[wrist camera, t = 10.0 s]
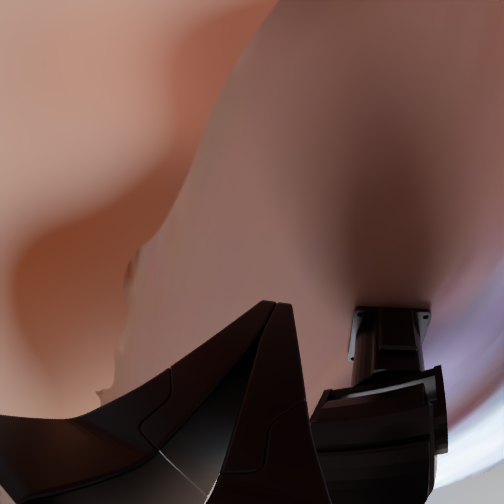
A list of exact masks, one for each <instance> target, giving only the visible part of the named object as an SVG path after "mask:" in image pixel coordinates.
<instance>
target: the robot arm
mask: <svg viewBox="0 0 504 504" xmlns="http://www.w3.org/2000/svg"><path fill="white" fill-rule="evenodd" d="M359 312H362V313H359ZM424 315H426V316H424ZM430 320H431V312H430V310H429V309H412V308H385V307H365V306H359V307H356V308H355V310H354V317H353V325H352V333H351V340H350V347H349V353H348V361H350V362H353V372H352V381H351V387H349V388H343V389H336V390H332V389H328V390H324V392H323V394H322V396H321V398H320V400H319V402H318V404H317V406H316V408H315V410H314V412H313V414H312V416H311V418H310V420H309V415H308V407H307V402H306V393H305V386H304V379H303V372H302V366H301V359H300V352H299V346H298V339H297V333H296V326H295V320H294V314H293V308H292V305H291V304H288V303H281V302H279V303H276V302H273V301H266V300H262V301H260V302H259V303H258V304H256V305H255V306H254V307H252V308H251V309H250V310H248V311H247V312H246V313H244V314H243V315H242V316H240V317H239V318H238V319H236V320H235V321H234V322H232V323H231V324H229V325H228V326H227V327H225V328H224V329H223V330H221V331H220V332H219V333H217V334H216V335H214V336H213V337H212V338H210V339H209V340H207V341H206V342H205V343H203V344H202V345H201V346H199V347H198V348H196V349H195V350H193V351H192V352H191V353H189V354H188V355H186V356H185V357H184V358H182V359H181V360H179V361H178V362H176V363H175V364H173V365H172V366H171V367H170V368H167V369H166V370H165V371H163V372H162V373H160V374H159V375H157V376H156V377H154V378H153V379H151V380H149V381H148V382H146V383H145V384H143V385H141V386H140V387H138V388H136V389H134V390H132V391H131V392H129V393H127V394H125V395H123V396H121V397H119V398H117V399H115V400H113V401H111V402H109V403H107V404H105V405H103V406H101V407H99V408H97V409H95V410H93V411H91V412H89V413H87V414H84V415H81V416H78V417H74V418H69V419H42V418H27V417H15V416H6V415H0V504H204V502H205V500H206V498H207V495H208V494H209V493H210V491H211V489H212V487H213V485H214V483H215V481H216V479H217V477H218V479H217V482H216V484H215V487H214V490H213V491H212V494H211V496H210V498H209V499H208V501H207V502H206V504H425V502H426V500H427V498H428V496H429V495H430V493H431V492H432V490H433V487H434V482H435V476H436V469H437V455H438V454H443V453H448V429H447V412H446V400H445V391H444V383H443V376H442V369H441V365H438V366H435V367H434V368H433V369H429V370H426V371H425V370H424V360H423V352H422V343H423V340H424V337H425V334H426V332H427V329H428V326H429V323H430ZM219 473H220V475H219ZM218 475H219V476H218Z"/></svg>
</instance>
